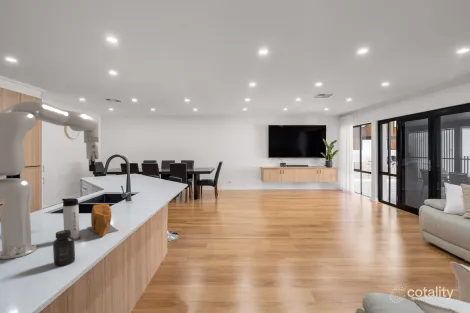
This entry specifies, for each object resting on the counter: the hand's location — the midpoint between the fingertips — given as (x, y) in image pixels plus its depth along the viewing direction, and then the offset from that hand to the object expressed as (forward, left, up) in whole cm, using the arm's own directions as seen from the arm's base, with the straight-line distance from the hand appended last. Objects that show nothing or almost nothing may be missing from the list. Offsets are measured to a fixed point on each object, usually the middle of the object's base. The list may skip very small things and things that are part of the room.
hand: (92, 171), depth 152 cm
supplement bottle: (-55, +21, -31) cm, 66 cm away
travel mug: (-26, +15, -31) cm, 43 cm away
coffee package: (-12, -1, -24) cm, 26 cm away
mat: (-19, 0, -31) cm, 36 cm away
